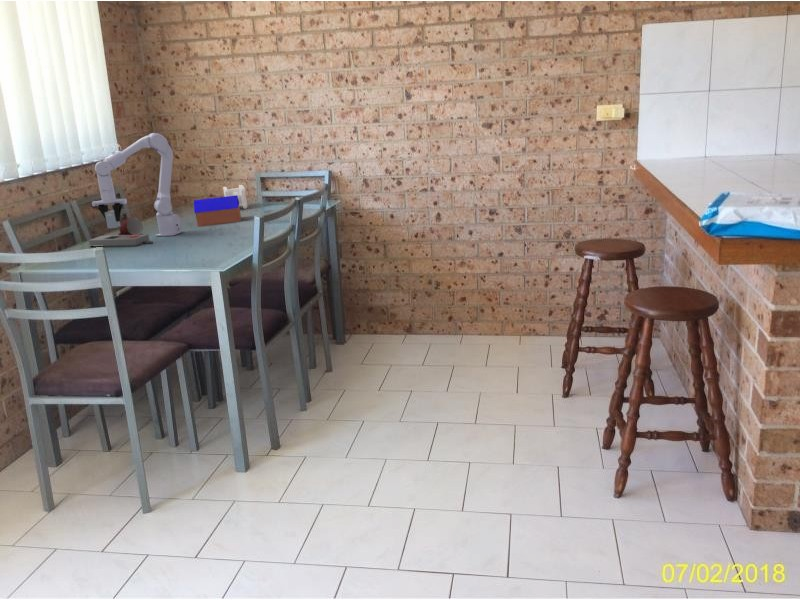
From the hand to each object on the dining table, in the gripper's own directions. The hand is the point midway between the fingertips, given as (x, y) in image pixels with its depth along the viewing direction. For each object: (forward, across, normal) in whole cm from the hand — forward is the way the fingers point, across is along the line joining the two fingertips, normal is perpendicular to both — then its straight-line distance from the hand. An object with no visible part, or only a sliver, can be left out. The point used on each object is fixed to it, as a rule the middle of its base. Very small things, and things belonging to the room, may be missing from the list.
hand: (113, 221), depth 321 cm
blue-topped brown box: (+10, -36, -32) cm, 49 cm away
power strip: (+9, -5, +4) cm, 11 cm away
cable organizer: (+10, -36, -67) cm, 77 cm away
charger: (+2, 0, 0) cm, 3 cm away
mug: (+8, +5, -17) cm, 20 cm away
